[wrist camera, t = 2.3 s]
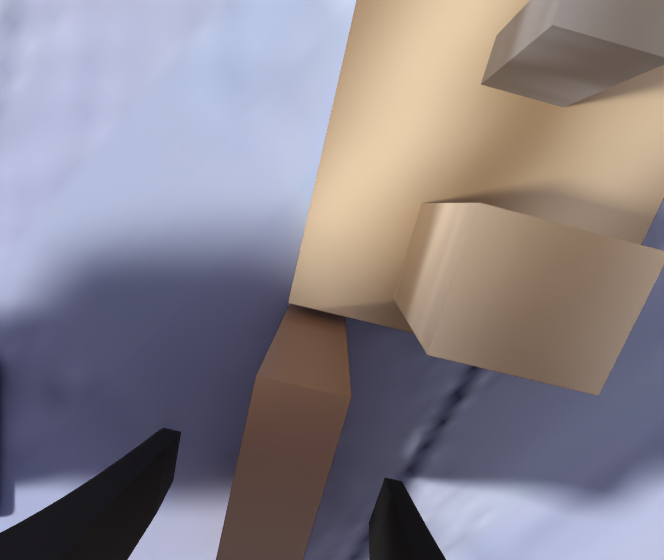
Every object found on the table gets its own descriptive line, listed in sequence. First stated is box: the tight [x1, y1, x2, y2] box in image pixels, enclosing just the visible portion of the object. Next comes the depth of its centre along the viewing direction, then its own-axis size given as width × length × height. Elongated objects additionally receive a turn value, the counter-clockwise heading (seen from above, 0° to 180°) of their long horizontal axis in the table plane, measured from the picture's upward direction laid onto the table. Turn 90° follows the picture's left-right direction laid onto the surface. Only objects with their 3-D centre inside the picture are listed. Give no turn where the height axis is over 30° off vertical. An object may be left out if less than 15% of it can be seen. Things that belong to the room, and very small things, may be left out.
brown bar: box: [216, 303, 351, 560], centre depth 10 cm, size 2×12×5 cm, turn 166°
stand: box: [288, 0, 664, 396], centre depth 7 cm, size 10×16×5 cm, turn 166°
